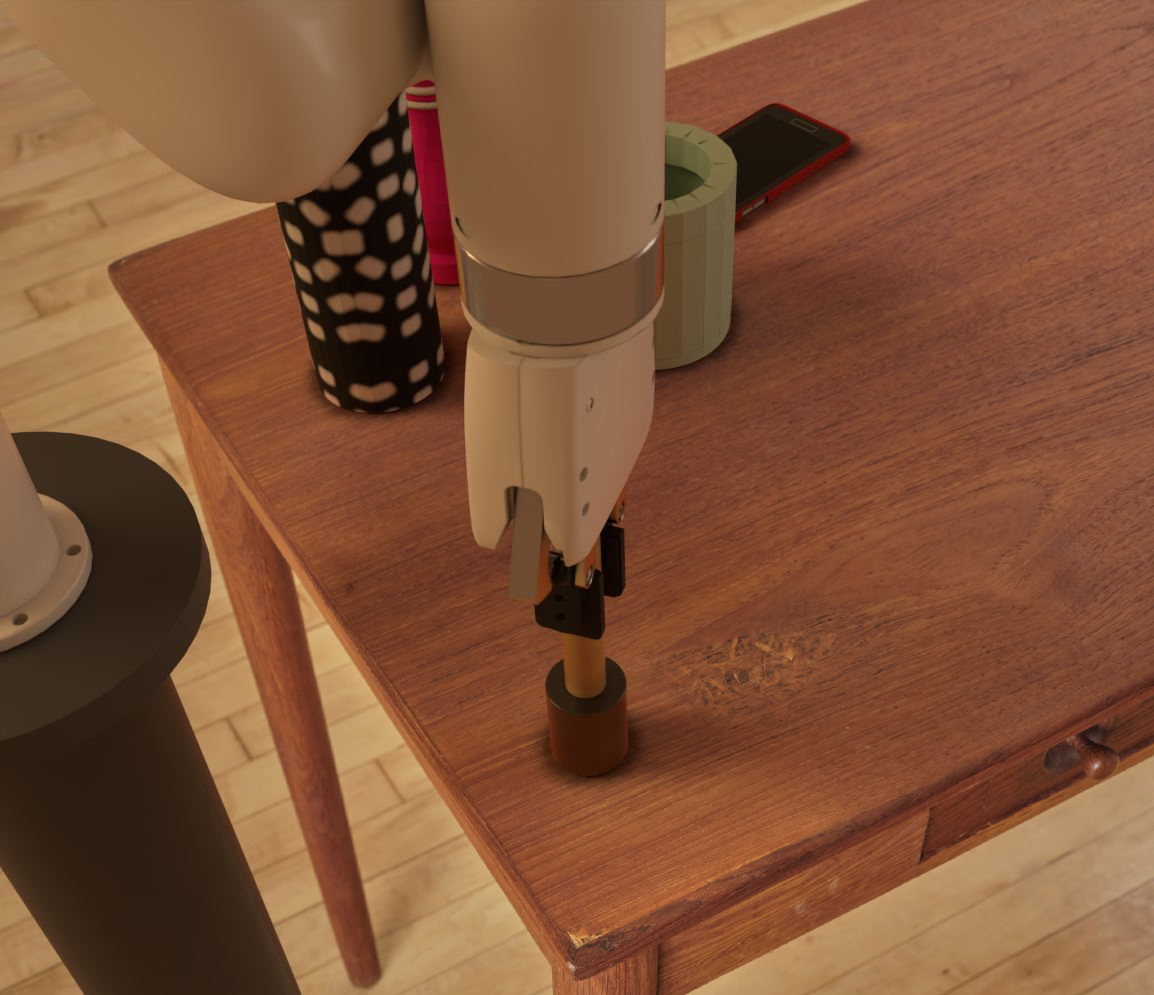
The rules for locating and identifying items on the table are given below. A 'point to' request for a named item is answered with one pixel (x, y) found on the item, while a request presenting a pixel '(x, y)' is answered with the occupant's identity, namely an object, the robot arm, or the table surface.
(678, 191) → the jar
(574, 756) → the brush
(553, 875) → the table surface
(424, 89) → the pepper mill
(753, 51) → the table surface
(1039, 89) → the table surface
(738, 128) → the cell phone
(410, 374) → the white-spotted black cylinder
